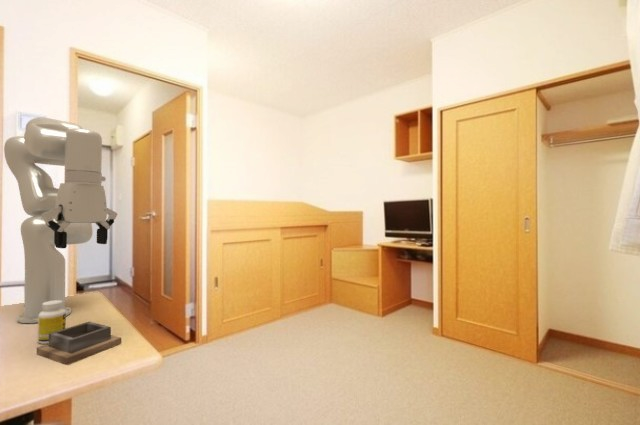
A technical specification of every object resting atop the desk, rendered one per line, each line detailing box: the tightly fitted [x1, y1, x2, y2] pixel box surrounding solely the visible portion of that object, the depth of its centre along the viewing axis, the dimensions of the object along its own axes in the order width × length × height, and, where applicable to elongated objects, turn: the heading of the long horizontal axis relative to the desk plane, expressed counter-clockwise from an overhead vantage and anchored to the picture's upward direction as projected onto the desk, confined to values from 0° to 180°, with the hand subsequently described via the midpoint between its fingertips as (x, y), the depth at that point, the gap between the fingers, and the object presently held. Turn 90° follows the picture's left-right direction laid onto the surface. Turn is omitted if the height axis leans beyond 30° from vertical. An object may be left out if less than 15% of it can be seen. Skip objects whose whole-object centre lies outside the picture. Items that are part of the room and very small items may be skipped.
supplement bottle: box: [37, 300, 67, 345], centre depth 80 cm, size 5×5×10 cm
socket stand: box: [36, 321, 122, 366], centre depth 76 cm, size 12×12×4 cm
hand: (82, 245), depth 80 cm, fingers open, 9 cm apart
